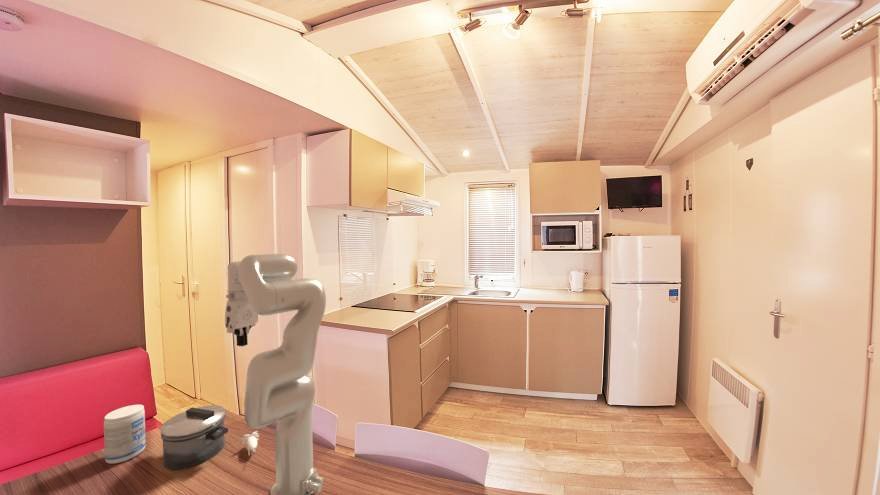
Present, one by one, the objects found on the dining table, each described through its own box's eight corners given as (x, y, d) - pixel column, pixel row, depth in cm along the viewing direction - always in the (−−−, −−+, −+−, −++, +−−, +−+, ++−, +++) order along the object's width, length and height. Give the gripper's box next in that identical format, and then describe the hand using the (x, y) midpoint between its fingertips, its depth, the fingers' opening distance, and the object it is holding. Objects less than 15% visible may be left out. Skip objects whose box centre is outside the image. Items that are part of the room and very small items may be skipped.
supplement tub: (141, 457, 100) (140, 413, 100) (99, 469, 95) (98, 423, 95) (149, 441, 108) (147, 400, 108) (110, 452, 103) (109, 409, 103)
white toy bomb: (241, 446, 104) (240, 433, 104) (259, 440, 108) (258, 427, 108) (244, 466, 95) (244, 451, 95) (264, 459, 98) (263, 444, 98)
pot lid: (236, 412, 108) (236, 404, 108) (186, 441, 92) (186, 431, 92) (201, 406, 112) (201, 398, 112) (147, 433, 96) (147, 424, 96)
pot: (248, 439, 108) (247, 412, 108) (195, 477, 91) (194, 444, 91) (199, 430, 114) (198, 404, 114) (141, 464, 97) (140, 433, 97)
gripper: (229, 299, 102) (231, 353, 102) (265, 292, 116) (267, 339, 117) (212, 298, 104) (214, 351, 104) (250, 291, 118) (251, 338, 119)
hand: (242, 345), depth 110 cm, fingers closed
